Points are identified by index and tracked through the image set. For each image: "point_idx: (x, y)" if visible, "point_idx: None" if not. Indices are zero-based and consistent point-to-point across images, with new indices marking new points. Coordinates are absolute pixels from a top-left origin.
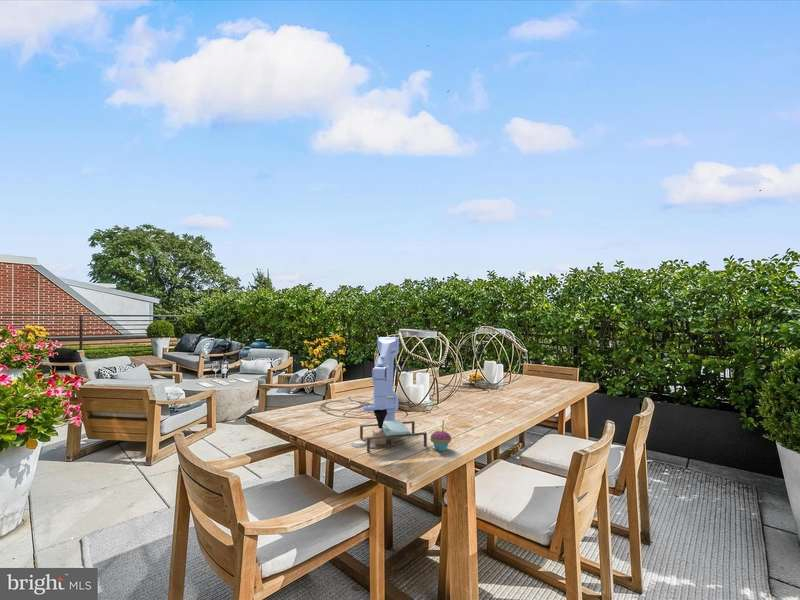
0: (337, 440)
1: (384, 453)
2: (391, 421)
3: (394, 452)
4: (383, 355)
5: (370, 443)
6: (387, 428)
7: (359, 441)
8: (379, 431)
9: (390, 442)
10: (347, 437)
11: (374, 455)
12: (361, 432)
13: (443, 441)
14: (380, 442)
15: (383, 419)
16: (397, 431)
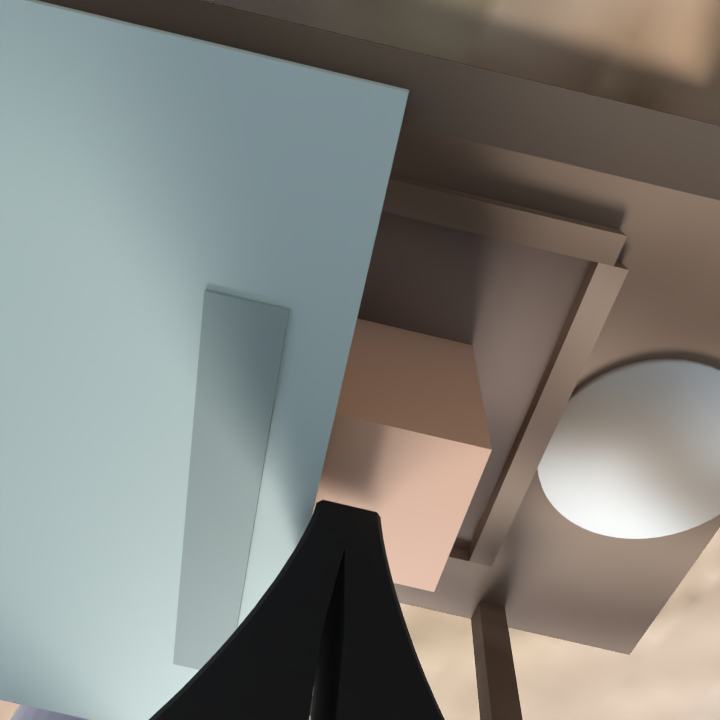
0: (702, 680)
1: (466, 40)
2: (43, 679)
3: (302, 2)
4: None
5: (497, 419)
6: (234, 412)
7: (591, 524)
8: (382, 469)
9: None
10: (566, 695)
11: (654, 31)
12: (502, 665)
13: None
14: (394, 338)
15: (255, 646)
16: (56, 92)
